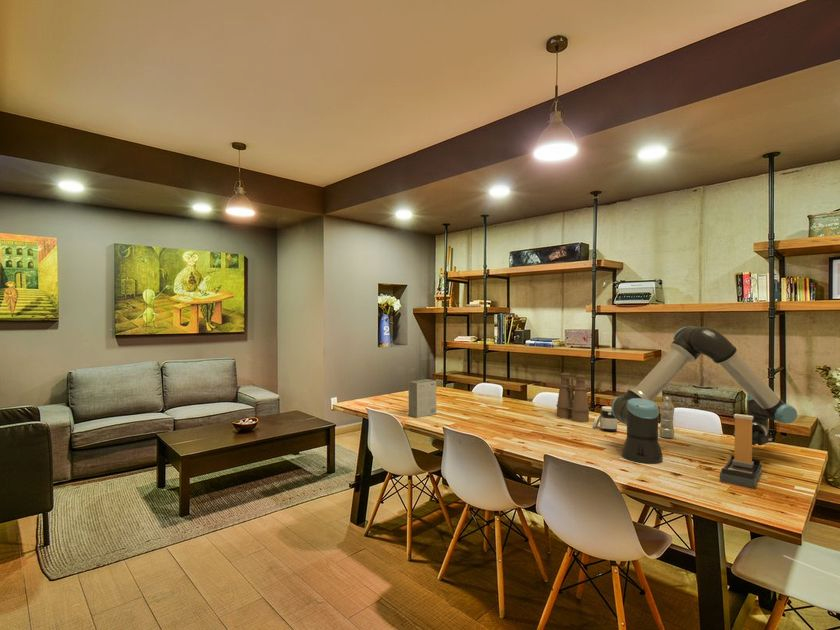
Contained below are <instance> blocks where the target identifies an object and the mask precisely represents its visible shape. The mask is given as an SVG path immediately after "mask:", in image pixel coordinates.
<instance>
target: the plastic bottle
mask: <svg viewBox="0 0 840 630" xmlns="http://www.w3.org/2000/svg"><path fill="white" fill-rule="evenodd" d="M675 410H676V409H675V405H674V403H673V402H672V396H671V395H662V402H661V403H660V404H659V414H660V424H659V425H660V427H659V429H658V434H659V436H660V437H662V438H665V439H671V438H673V437H674V436H675V428H674V414H675Z"/></svg>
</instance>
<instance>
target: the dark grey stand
mask: <svg viewBox="0 0 840 630" xmlns="http://www.w3.org/2000/svg"><path fill="white" fill-rule="evenodd" d="M734 458H735V455H731V456H730V458H729V460H728V461H727V462H726V464H725V465H724V466H723V467H721V471H720V472H719V482H722V483H725V482H726V484H730V485H737V486H740V487H745V488H750V489H754V490H755V489H756V487H757V484H758V483H759V480H760V478H761V475H762V474H763V465H762V463H761V460H760V459H755V458H752V461H754V466H753V468H752V469H751V468H745V467H740V466H735V465H732V461H733V459H734Z"/></svg>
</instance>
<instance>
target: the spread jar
mask: <svg viewBox="0 0 840 630" xmlns="http://www.w3.org/2000/svg"><path fill="white" fill-rule="evenodd" d="M599 424H600V427H599V428H600V430H601V431H603V432H606V433H607V432H609V433H614V432H617V431H618V420H617V419H616V418H615V417H614V415H613V413H612V410H611V406H608V405H606V406H603V405H602V406H601V412H600V414H597V415H596V416H595V419H594V421H593V424H592V428H594V429H596V428H597V426H599Z"/></svg>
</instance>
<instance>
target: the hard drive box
mask: <svg viewBox="0 0 840 630" xmlns="http://www.w3.org/2000/svg"><path fill="white" fill-rule="evenodd" d="M433 415H434V416H435V415H437V380H435V379H428V378H427V379H418V380H411V381H408V416H409V417H412V418H422V417H428V416H433Z"/></svg>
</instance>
